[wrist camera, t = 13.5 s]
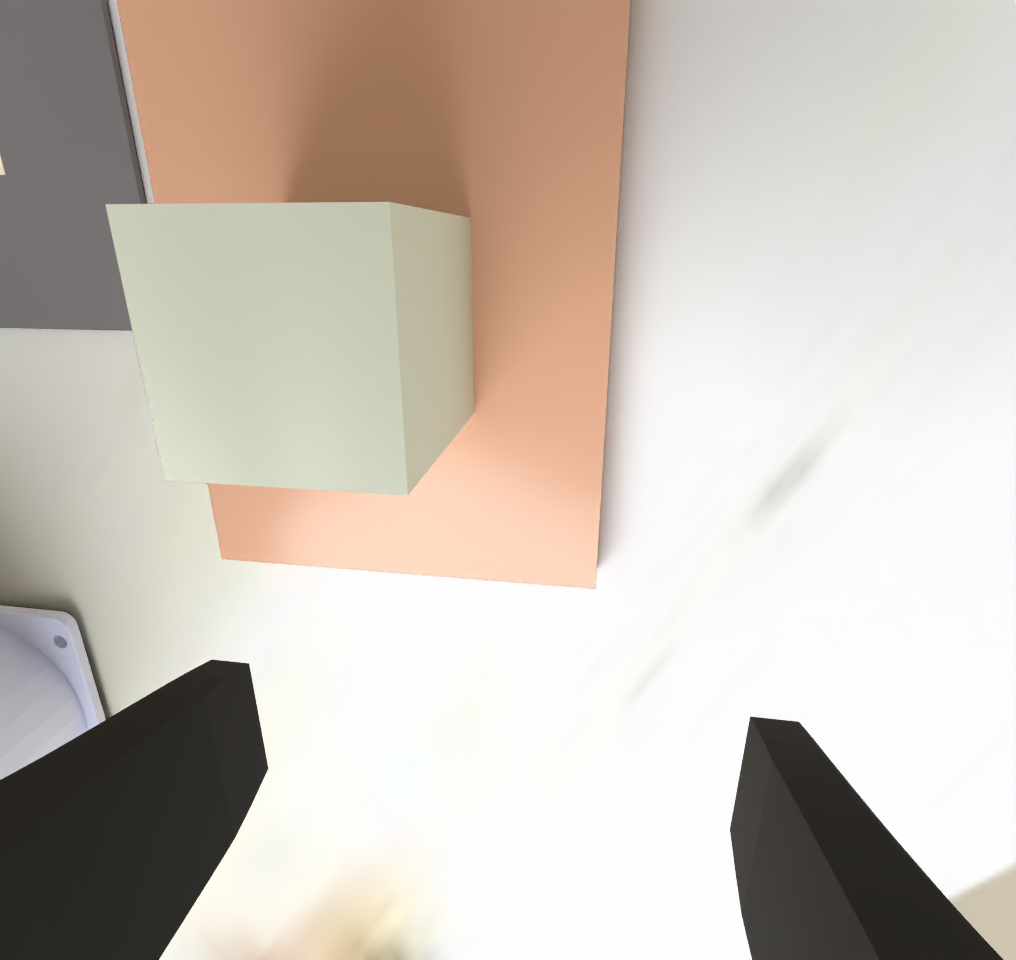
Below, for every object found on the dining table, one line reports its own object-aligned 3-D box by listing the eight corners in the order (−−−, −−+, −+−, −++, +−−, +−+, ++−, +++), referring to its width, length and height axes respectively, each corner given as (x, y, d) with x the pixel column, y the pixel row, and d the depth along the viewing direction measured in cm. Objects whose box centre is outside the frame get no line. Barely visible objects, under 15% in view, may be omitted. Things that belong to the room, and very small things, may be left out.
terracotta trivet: (596, 570, 18) (595, 589, 17) (240, 543, 19) (222, 559, 18) (632, -33, 12) (633, -55, 12) (145, -2, 14) (112, -19, 13)
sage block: (474, 412, 15) (407, 496, 10) (305, 405, 16) (164, 480, 11) (471, 217, 14) (389, 201, 9) (283, 219, 14) (105, 203, 9)
